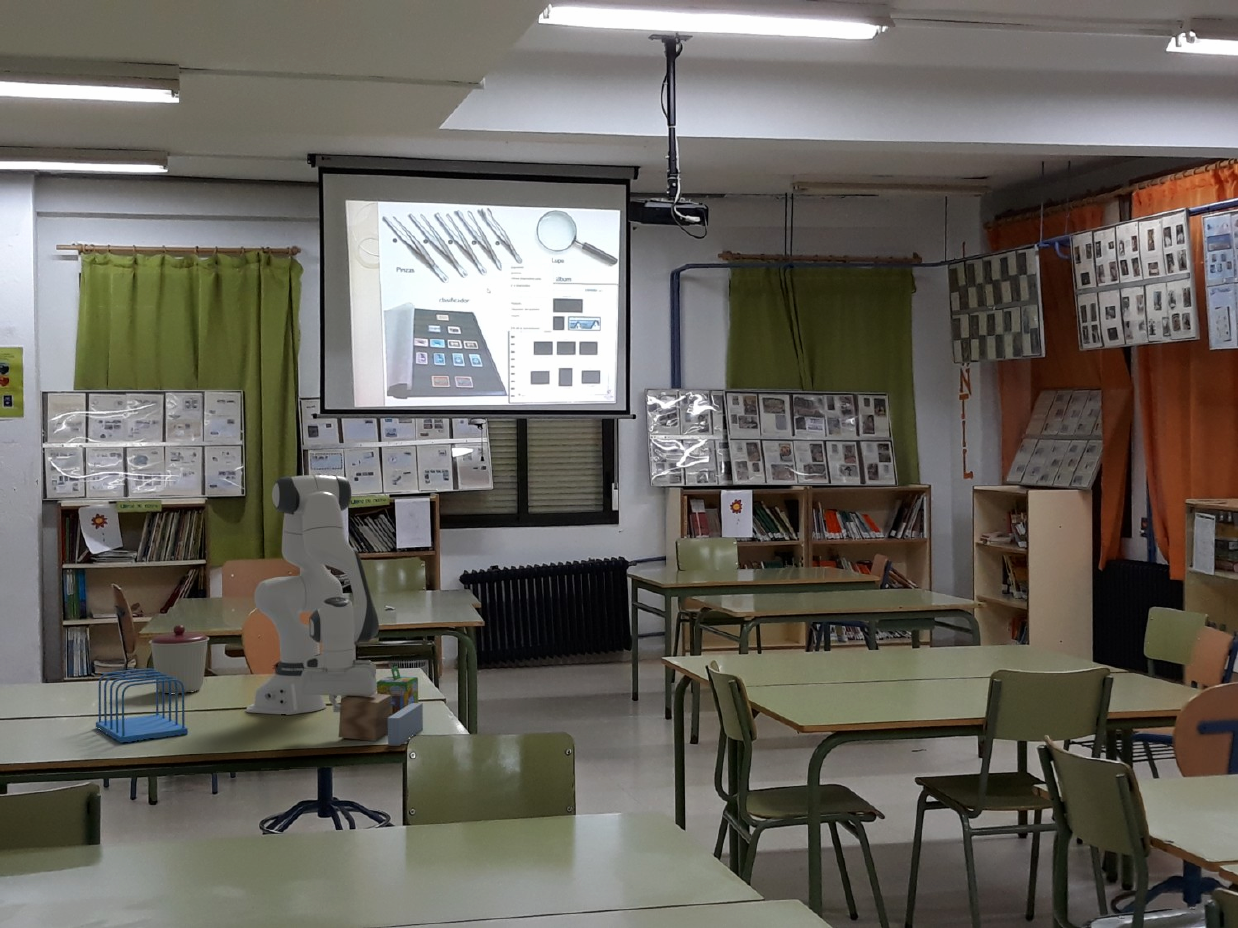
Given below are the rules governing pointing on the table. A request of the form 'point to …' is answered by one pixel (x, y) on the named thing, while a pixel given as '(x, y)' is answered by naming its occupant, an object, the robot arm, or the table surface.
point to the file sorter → (141, 725)
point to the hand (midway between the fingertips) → (339, 711)
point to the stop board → (405, 724)
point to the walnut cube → (364, 716)
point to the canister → (180, 658)
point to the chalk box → (399, 690)
